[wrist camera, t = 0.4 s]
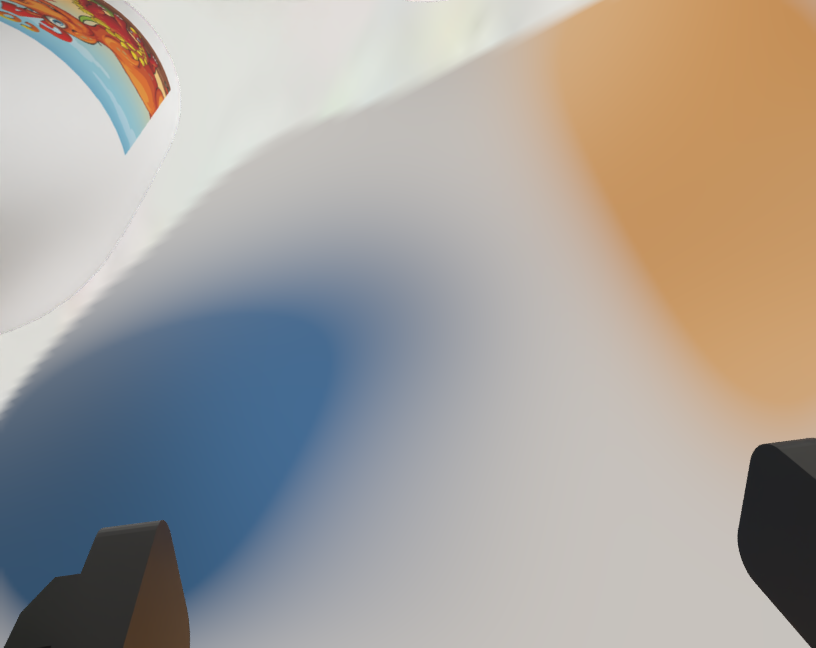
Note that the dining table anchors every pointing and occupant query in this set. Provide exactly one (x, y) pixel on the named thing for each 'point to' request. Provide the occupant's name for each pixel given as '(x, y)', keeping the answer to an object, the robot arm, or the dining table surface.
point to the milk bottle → (75, 142)
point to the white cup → (426, 0)
